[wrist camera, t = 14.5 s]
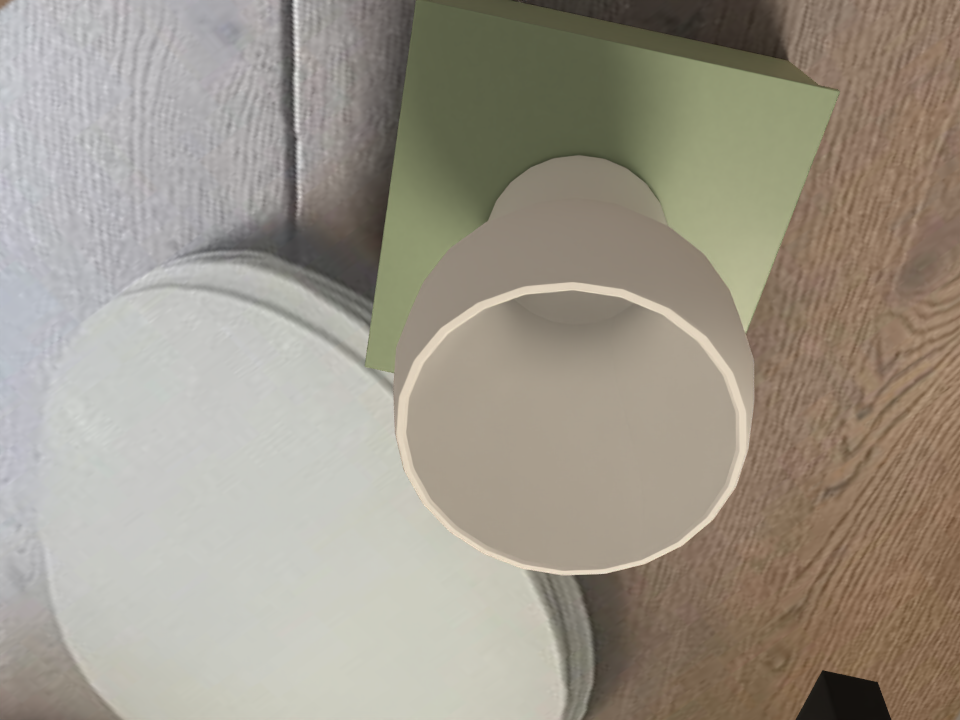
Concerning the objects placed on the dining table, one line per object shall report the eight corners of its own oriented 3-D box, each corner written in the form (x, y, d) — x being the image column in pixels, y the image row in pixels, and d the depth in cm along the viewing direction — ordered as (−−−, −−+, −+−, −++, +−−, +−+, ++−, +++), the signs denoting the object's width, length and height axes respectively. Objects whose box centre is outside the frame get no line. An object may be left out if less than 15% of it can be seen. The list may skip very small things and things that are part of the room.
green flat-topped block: (447, -19, 39) (416, -2, 32) (795, 57, 39) (840, 91, 32) (398, 298, 47) (364, 366, 40) (687, 361, 47) (704, 442, 40)
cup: (680, 87, 32) (740, 213, 19) (722, 329, 37) (794, 564, 24) (420, 155, 35) (317, 309, 22) (490, 375, 39) (439, 611, 26)
